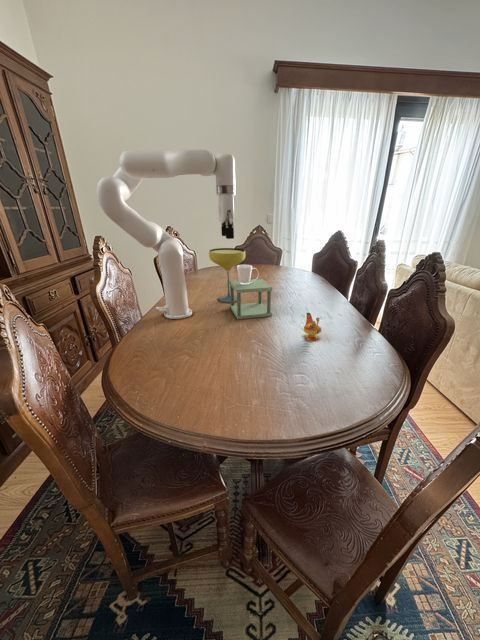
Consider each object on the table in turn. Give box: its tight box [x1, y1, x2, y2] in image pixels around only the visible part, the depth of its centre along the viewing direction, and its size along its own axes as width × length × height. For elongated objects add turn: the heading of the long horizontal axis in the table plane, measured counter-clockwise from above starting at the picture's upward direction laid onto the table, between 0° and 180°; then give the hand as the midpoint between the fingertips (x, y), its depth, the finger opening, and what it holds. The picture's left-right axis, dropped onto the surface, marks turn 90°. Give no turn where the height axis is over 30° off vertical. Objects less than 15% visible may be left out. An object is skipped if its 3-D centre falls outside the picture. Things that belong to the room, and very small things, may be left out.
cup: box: [236, 264, 260, 285], centre depth 129 cm, size 7×10×8 cm
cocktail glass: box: [208, 247, 246, 304], centre depth 147 cm, size 18×18×25 cm
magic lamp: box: [303, 312, 323, 342], centre depth 111 cm, size 7×18×11 cm, turn 3°
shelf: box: [229, 278, 273, 320], centre depth 134 cm, size 16×16×14 cm
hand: (227, 237), depth 122 cm, fingers open, 9 cm apart
